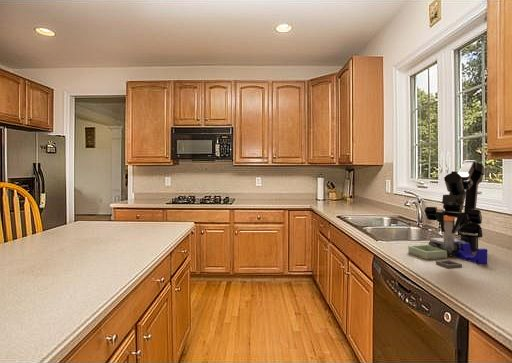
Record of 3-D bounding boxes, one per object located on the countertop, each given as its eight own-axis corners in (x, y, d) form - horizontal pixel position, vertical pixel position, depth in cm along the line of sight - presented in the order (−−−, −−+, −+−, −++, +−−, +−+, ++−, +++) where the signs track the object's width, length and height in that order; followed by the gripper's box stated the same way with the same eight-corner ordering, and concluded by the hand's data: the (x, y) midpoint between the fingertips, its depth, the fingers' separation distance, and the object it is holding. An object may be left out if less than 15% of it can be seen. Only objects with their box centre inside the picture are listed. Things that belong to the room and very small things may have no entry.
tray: (427, 251, 149) (427, 244, 149) (447, 258, 138) (447, 250, 138) (408, 252, 147) (408, 246, 147) (427, 259, 136) (427, 252, 136)
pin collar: (449, 262, 131) (449, 260, 131) (462, 266, 125) (462, 264, 125) (436, 263, 130) (436, 261, 130) (448, 268, 124) (448, 265, 124)
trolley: (449, 249, 153) (449, 236, 152) (472, 255, 140) (472, 241, 140) (423, 251, 150) (423, 237, 150) (444, 258, 138) (444, 243, 138)
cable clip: (456, 257, 140) (456, 242, 140) (467, 256, 140) (467, 242, 140) (475, 265, 128) (475, 249, 128) (487, 264, 128) (487, 249, 128)
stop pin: (449, 247, 129) (449, 215, 129) (456, 249, 126) (456, 216, 125) (441, 248, 128) (441, 215, 128) (448, 250, 125) (448, 217, 125)
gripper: (425, 186, 136) (416, 216, 128) (480, 187, 123) (473, 221, 115) (432, 204, 142) (423, 234, 134) (484, 207, 129) (478, 240, 121)
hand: (447, 232), depth 126 cm, fingers closed on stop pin, 4 cm apart
